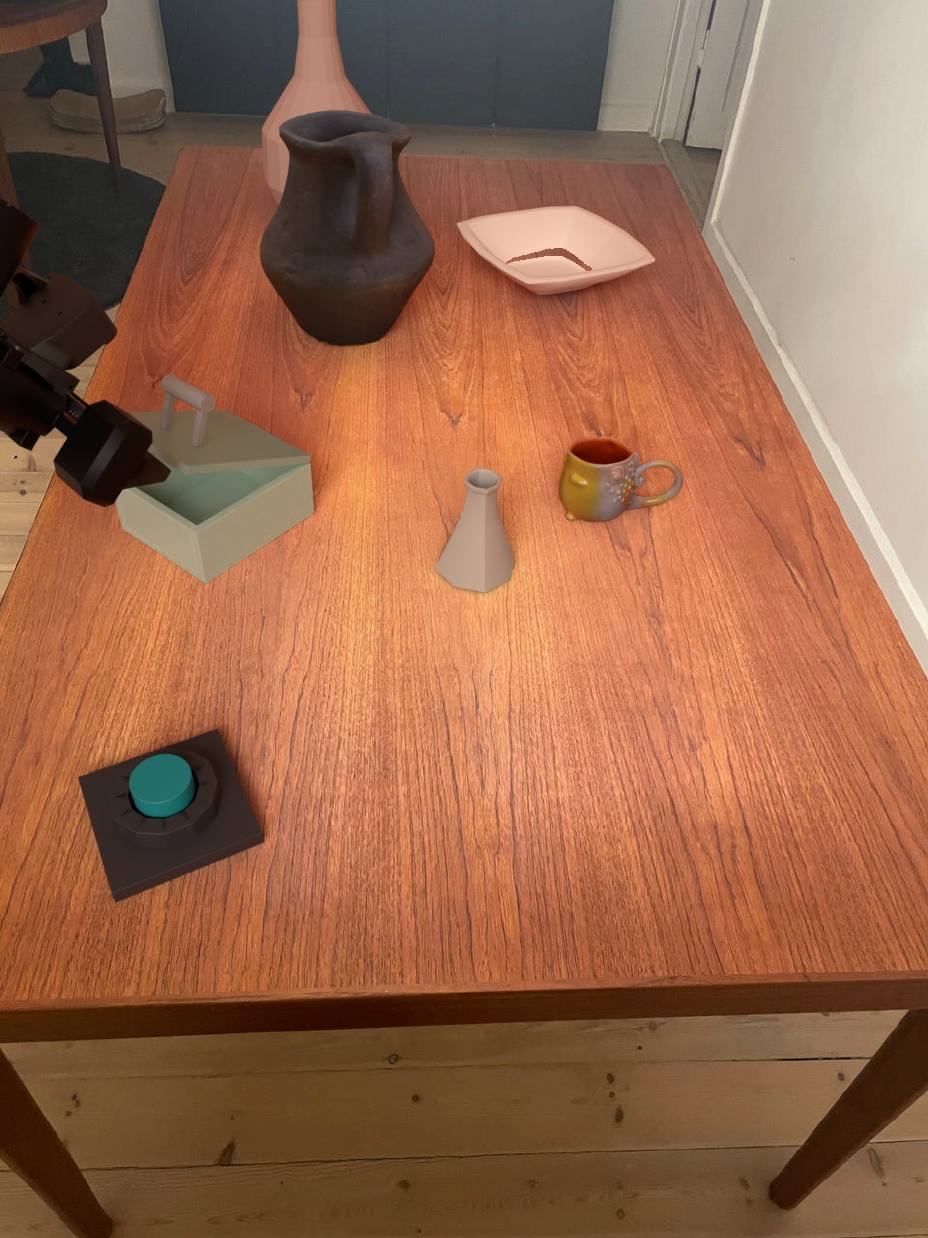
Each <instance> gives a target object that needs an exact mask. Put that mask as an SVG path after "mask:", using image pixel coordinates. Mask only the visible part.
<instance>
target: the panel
mask: <svg viewBox="0 0 928 1238" xmlns="http://www.w3.org/2000/svg"><path fill="white" fill-rule="evenodd" d="M160 754H172V755H176V756H179V757H181V758H183V759H184V760H185V761H186V762H187V763H188V764H189V766H190V768H191V772H192V776H193V779H194V783H195V793H194V796H193V798H192V800H191V802H190V803H189V804H188V806H187V807H186V808H184V809H183V810H182V811H180V812H179V813H177V814H174V815H172V816H169V817H163V818H155V817H150V816H147V815H145V814H143V813H142V812H141V811H139V809H138V808H137V807H136V805H135V802H134V799H133V796H132V794H131V791H130V787H129V780H130V776H131V774H132V772H133V771H134V769H135V768H136V767H137V766H138V765H139V764H140V763H141V762H142V761H144V760H146V759H147V758H150V757H152V756H155V755H160ZM77 779H78V782H79V786H80V790H81V793H82V797H83V800H84V804H85V807H86V811H87V813H88V814H87V815H88V817H89V821H90V824H91V828H92V831H93V835H94V838H95V842H96V845H97V849H98V852H99V855H100V859H101V862H102V865H103V869H104V873H105V876H106V880H107V883H108V886H109V889H110V893H111V896H112V898H113V901H114V903H119V902H120V901H122V900H126V899H128V898H131V897H133V896H135V895H138V894H141V893H143V892H145V891H147V890H150V889H153V888H155V887H158V886H160V885H163V884H165V883H168V882H170V881H172V880H175V879H177V878H180V877H182V876H185V875H187V874H189V873H192V872H195V871H197V870H199V869H202V868H204V867H207V866H209V865H212V864H215V863H217V862H220V861H222V860H224V859H226V858H230V857H232V856H234V855H237V854H239V853H241V852H244V851H246V850H250V849H252V848H254V847H256V846H260V845H261V844H264V843H265V839H264V834H263V831H262V829H261V826H260V824H259V821H258V819H257V817H256V815H255V812H254V810H253V808H252V806H251V804H250V800H249V799H248V796H247V794H246V792H245V789H244V787H243V785H242V783H241V780H240V778H239V775H238V773H237V770H236V768H235V766H234V763H233V762H232V760H231V757H230V755H229V752H228V750H227V748H226V745H225V743H224V741H223V738H222V736H221V734H220V732H219V729H218V728H214V729H211V730H208V731H206V732H203V733H199V734H197V735H194V736H191V737H189V738H185V739H182V740H180V741H178V742H175V743H172V744H169V745H165V746H163V747H160V748H157V749H155V750H152V751H148V752H146V753H143V754H141V755H140V754H139V755H137V756H134V757H131V758H129V759H126V760H123V761H120V762H118V763H114V764H111V765H109V766H105V767H103V768H100V769H97V770H94V771H92V772H89V773H86V774H82V775H80V776H78V777H77Z"/></svg>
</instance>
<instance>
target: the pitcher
mask: <svg viewBox="0 0 928 1238" xmlns="http://www.w3.org/2000/svg"><path fill="white" fill-rule="evenodd" d="M412 135H413V134H412V131H411V129H410V128H409V127H408V126H407V125H404V124H402V123H400V122H398V121H394V120H390V119H388V117H387V118H386V117H383V116H381V115H377V114H373V113H371V114H367V113H361V112H354V111H347V110H328V111H319V112H313V113H308V114H305V115H300V116H296V117H294V118H291V119H289V120H287V121H285V122H284V123H282V124H281V125H280V126H279V136H280V137H281V139H282V141H283V142H284V144H285V145H286V147H287V149H288V151H289V167H288V175H287V179H286V184H285V188H284V192H283V195H282V199H281V201H280V204H279V206H278V205H277V207H276V210H275V212H274V214H273V215H272V218H271V219H270V221H269V224H267V227H266V228H265V229H264V231H263V234H262V236H261V240H260V245H259V259H260V264H261V268H262V270H263V272H264V275H265V276H266V278H267V280H268V281H269V282H270V285H271V286H272V287H273V289H274V291H275V292H276V293H277V295H278V296H279V297H280V299H281V300H282V301H283V303H284V305H285V306H286V308H287V311H289V313H290V314H291V316H292V317H293V318H294V320H295V322H296V324H297V325H298V326H299V327H300V328H301V330H303V331H304V332H305V333H306V334H308V335H309V336H311V337H313V338H314V339H316V340H317V341H318V342H323V343H327V344H329V345H337V346H352V345H353V346H354V345H366V344H371V343H375V342H378V341H380V340H381V339H382V338H384V337H385V336H386V335H387V333H388V332H389V331H390V330H391V329H392V327H393V326H394V325H395V323H396V322H397V320H398V319H399V317H400V315H401V314H402V312H403V311H404V309H405V307H406V305H407V304H408V302H409V300H410V299H411V297H412V295H413V293H414V292H415V291H416V289H417V288H418V286H420V284H421V282H422V281H423V280H424V278H425V276H426V275H427V273H428V272H429V270H430V269H431V268H432V265H433V262H434V259H435V253H436V246H435V245H436V244H435V241H434V238H433V236H432V232H431V231H430V230H429V229H428V227H427V225H426V224H425V222H424V221H423V219H422V217H421V216H420V214H419V213H418V210H417V209H416V207H415V206H414V204H413V202H412V199H411V198H410V196H409V194H408V193H409V192H407V189H406V187H405V185H404V181H403V179H402V176H401V173H400V169H399V161H400V155H401V153H402V152H403V150H404V148H405V147H406V146H407V145H409V143H410V141H411V140H412Z"/></svg>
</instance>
